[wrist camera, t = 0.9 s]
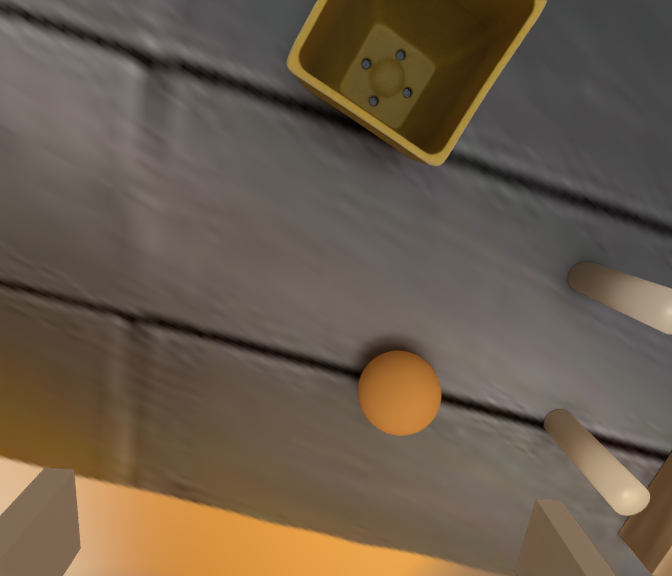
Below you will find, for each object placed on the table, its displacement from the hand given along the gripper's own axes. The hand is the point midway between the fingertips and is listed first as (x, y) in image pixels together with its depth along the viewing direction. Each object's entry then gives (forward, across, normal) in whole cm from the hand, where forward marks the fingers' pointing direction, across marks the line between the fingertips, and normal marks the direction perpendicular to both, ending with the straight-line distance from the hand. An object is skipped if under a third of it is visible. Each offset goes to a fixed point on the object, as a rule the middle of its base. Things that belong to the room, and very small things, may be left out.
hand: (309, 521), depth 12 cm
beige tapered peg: (+20, +20, +4) cm, 28 cm away
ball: (+17, +7, -5) cm, 19 cm away
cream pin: (+20, +21, -8) cm, 30 cm away
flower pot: (+20, +3, +16) cm, 26 cm away
